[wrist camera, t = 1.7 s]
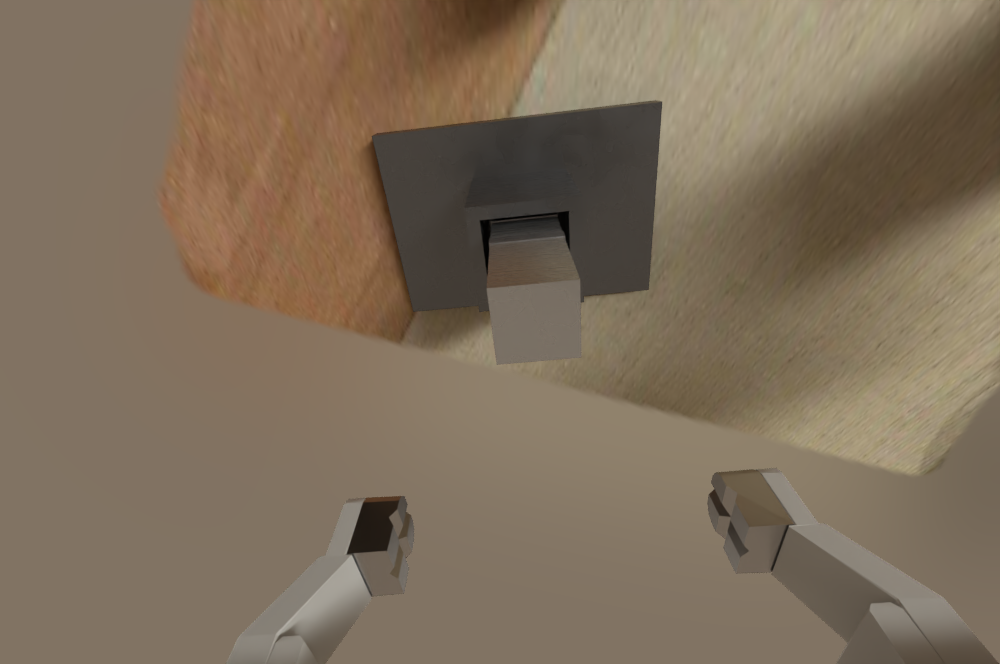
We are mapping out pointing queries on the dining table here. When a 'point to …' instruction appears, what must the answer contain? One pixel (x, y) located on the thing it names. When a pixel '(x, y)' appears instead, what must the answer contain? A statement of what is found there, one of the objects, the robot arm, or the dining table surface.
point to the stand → (523, 196)
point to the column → (532, 290)
